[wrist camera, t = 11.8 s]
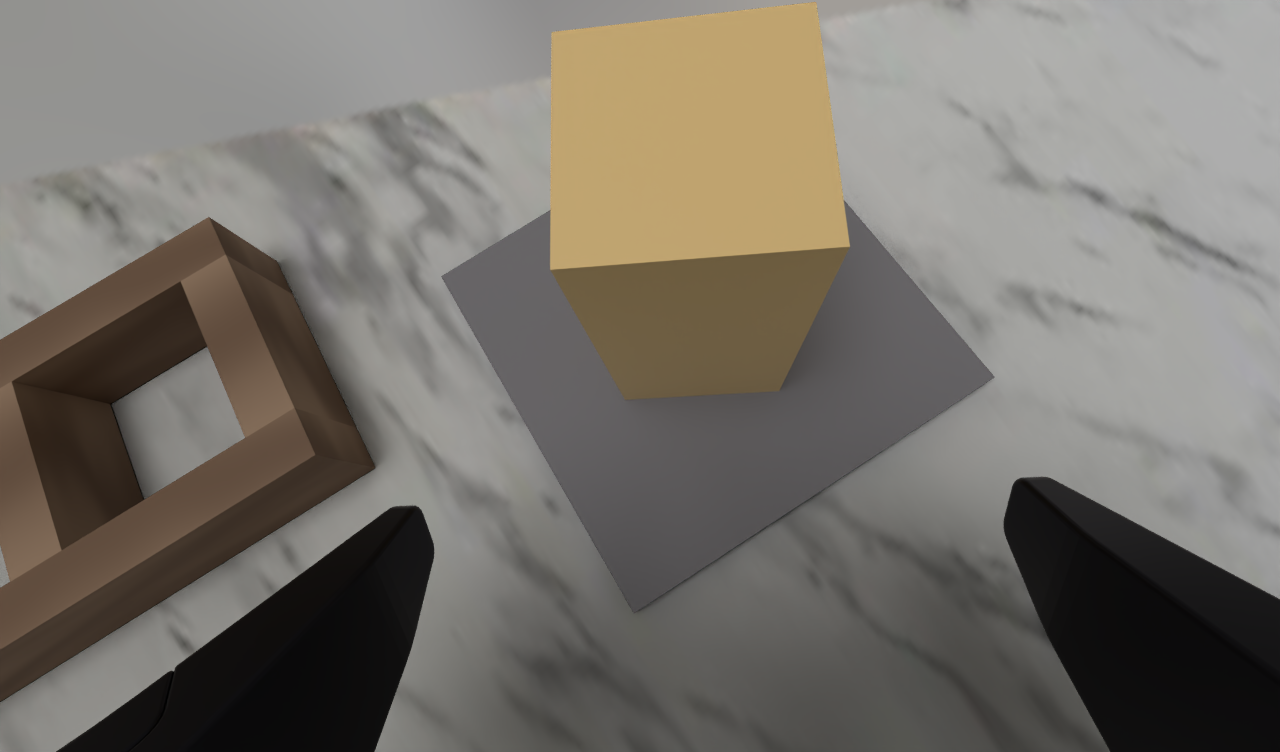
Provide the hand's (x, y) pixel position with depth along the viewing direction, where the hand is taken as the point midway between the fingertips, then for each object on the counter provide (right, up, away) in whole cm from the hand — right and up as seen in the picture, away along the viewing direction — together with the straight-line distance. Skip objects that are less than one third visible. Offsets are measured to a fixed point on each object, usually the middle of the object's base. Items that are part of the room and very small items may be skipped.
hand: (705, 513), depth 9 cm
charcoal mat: (+1, +4, +10) cm, 10 cm away
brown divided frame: (-19, -2, +10) cm, 22 cm away
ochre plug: (+1, +4, +9) cm, 10 cm away
